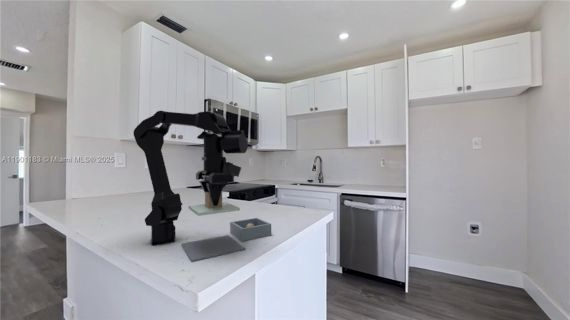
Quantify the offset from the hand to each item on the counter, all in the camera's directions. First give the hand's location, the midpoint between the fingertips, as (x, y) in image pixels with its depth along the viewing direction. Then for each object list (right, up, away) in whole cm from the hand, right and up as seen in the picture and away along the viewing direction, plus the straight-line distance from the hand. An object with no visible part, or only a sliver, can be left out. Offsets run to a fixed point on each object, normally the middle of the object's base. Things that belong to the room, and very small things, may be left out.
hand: (213, 204), depth 70 cm
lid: (0, -2, 0) cm, 2 cm away
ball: (+10, -11, +12) cm, 19 cm away
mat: (0, -13, -1) cm, 13 cm away
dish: (+10, -13, +12) cm, 20 cm away
